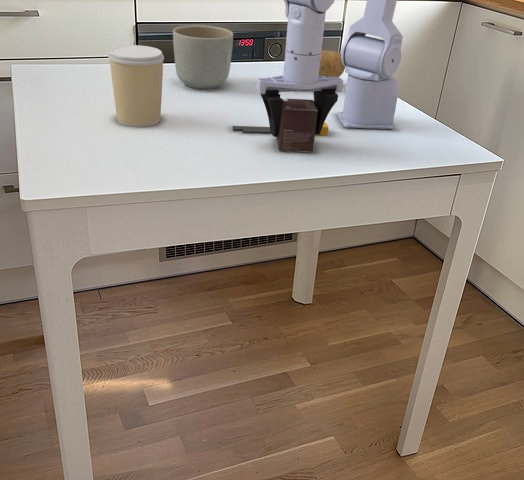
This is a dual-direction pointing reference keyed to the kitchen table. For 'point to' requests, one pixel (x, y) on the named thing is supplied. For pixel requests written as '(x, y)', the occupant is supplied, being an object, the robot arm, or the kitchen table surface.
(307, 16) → the robot arm
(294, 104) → the box
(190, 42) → the planter
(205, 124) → the kitchen table surface
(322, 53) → the potato
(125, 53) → the coffee cup
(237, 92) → the kitchen table surface
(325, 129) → the knife
